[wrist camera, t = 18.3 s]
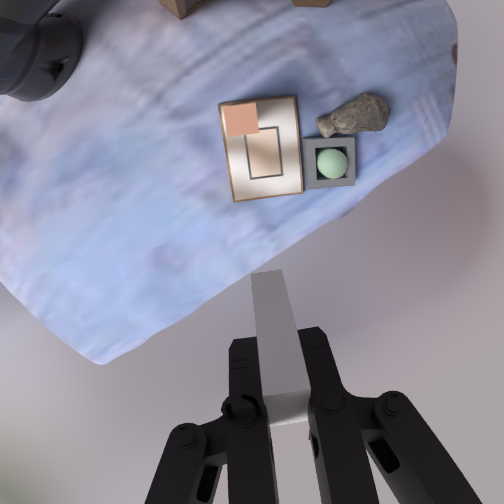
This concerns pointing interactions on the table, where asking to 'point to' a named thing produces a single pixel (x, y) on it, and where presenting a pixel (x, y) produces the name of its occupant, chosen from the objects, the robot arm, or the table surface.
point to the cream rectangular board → (265, 152)
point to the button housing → (310, 161)
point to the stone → (356, 116)
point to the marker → (241, 119)
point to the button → (331, 162)
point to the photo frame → (182, 3)
